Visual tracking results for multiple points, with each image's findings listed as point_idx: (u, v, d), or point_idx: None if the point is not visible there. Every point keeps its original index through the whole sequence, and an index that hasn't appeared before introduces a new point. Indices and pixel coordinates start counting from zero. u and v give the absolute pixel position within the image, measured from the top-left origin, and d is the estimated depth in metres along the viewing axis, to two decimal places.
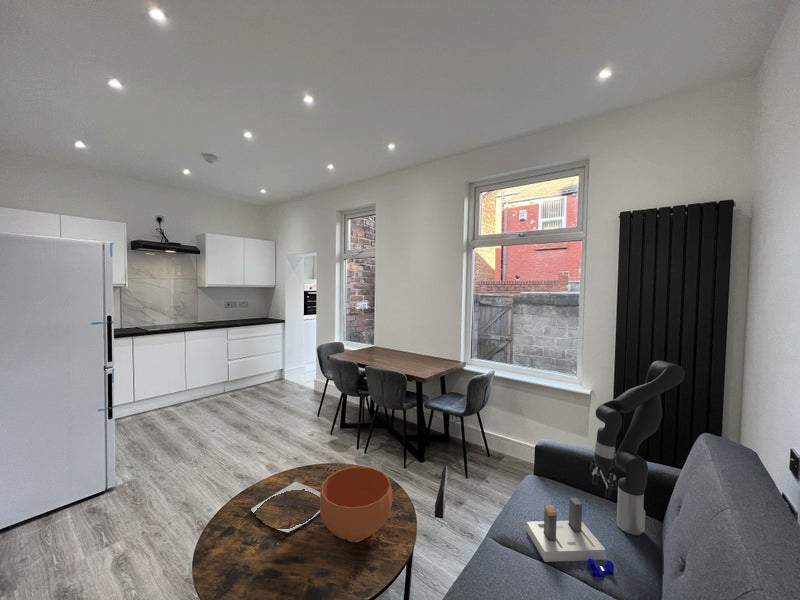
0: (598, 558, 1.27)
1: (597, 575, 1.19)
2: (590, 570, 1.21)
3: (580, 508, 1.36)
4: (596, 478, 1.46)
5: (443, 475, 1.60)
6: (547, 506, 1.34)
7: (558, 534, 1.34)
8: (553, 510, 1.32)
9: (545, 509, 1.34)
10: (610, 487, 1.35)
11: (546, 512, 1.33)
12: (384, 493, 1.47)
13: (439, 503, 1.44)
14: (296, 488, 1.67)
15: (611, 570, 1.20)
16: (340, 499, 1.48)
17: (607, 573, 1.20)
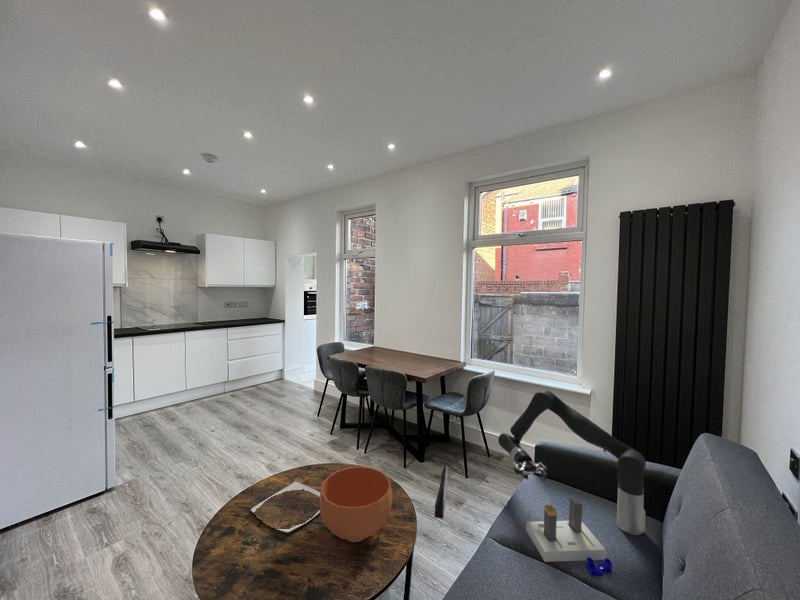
0: (598, 558, 1.27)
1: (596, 573, 1.20)
2: (589, 569, 1.21)
3: (580, 508, 1.36)
4: (542, 473, 1.48)
5: None
6: (547, 506, 1.34)
7: (558, 534, 1.34)
8: (553, 510, 1.32)
9: (545, 509, 1.34)
10: None
11: (546, 512, 1.33)
12: (384, 493, 1.47)
13: (439, 503, 1.44)
14: (296, 488, 1.67)
15: (609, 568, 1.21)
16: (340, 499, 1.48)
17: (605, 571, 1.21)
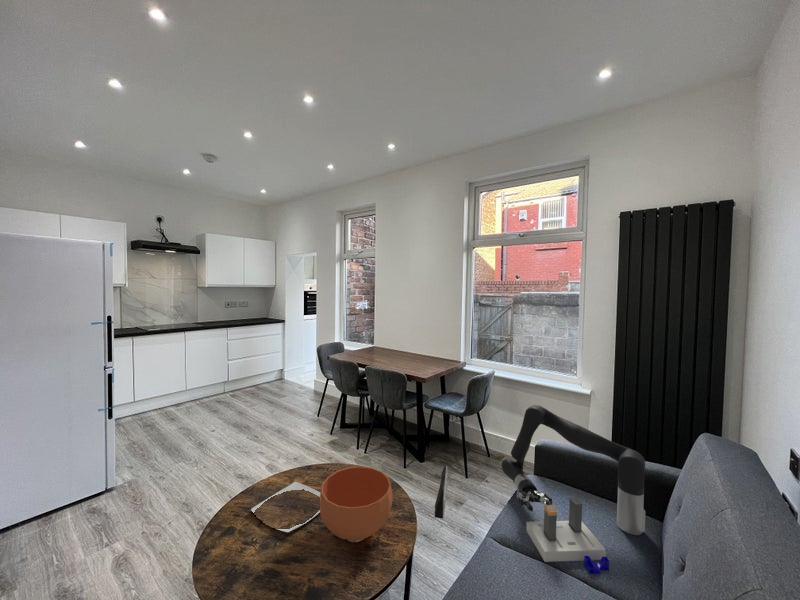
0: (598, 558, 1.27)
1: (594, 572, 1.20)
2: (587, 567, 1.22)
3: (580, 508, 1.36)
4: (547, 504, 1.44)
5: None
6: (547, 506, 1.34)
7: (558, 534, 1.34)
8: (553, 510, 1.32)
9: (545, 509, 1.34)
10: None
11: (546, 512, 1.33)
12: (384, 493, 1.47)
13: (439, 503, 1.44)
14: (296, 488, 1.67)
15: (607, 566, 1.22)
16: (340, 499, 1.48)
17: (603, 569, 1.22)
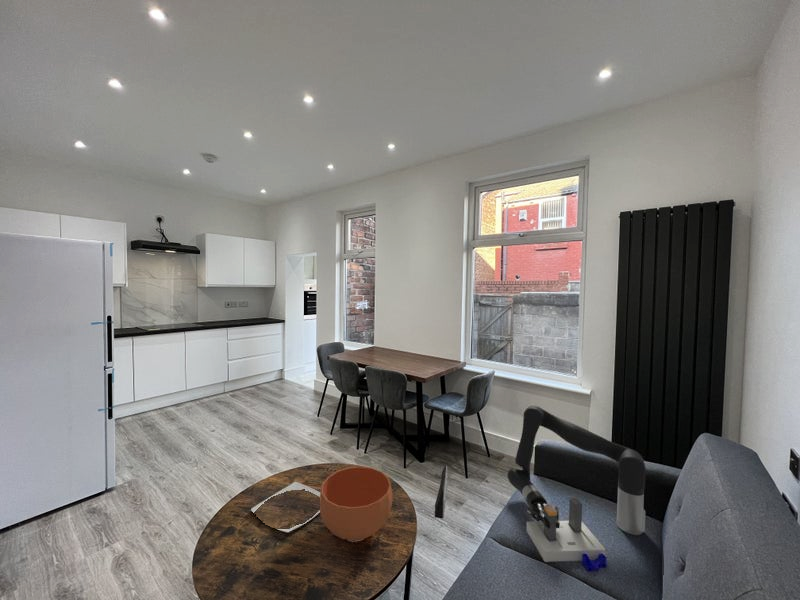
0: None
1: (592, 569, 1.21)
2: (585, 565, 1.23)
3: (580, 508, 1.36)
4: None
5: (443, 475, 1.60)
6: (547, 506, 1.34)
7: (558, 534, 1.34)
8: (553, 510, 1.32)
9: (545, 509, 1.34)
10: None
11: (546, 512, 1.33)
12: (384, 493, 1.47)
13: (439, 503, 1.44)
14: (296, 488, 1.67)
15: (604, 563, 1.23)
16: (340, 499, 1.48)
17: (600, 566, 1.23)
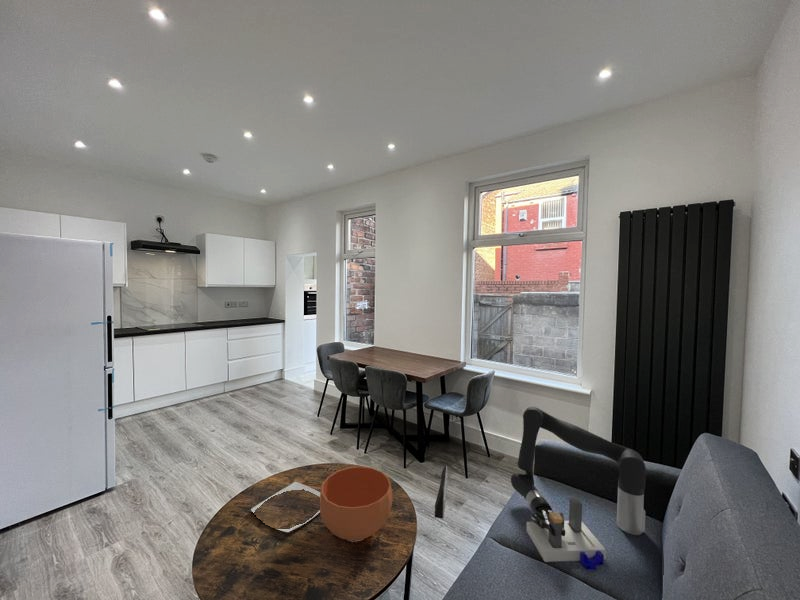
0: None
1: (590, 567, 1.22)
2: (583, 563, 1.23)
3: (580, 508, 1.36)
4: None
5: None
6: (552, 513, 1.30)
7: None
8: (558, 517, 1.28)
9: (550, 516, 1.30)
10: None
11: (551, 519, 1.29)
12: (384, 493, 1.47)
13: (439, 503, 1.44)
14: (296, 488, 1.67)
15: (601, 560, 1.24)
16: (340, 499, 1.48)
17: (598, 564, 1.24)
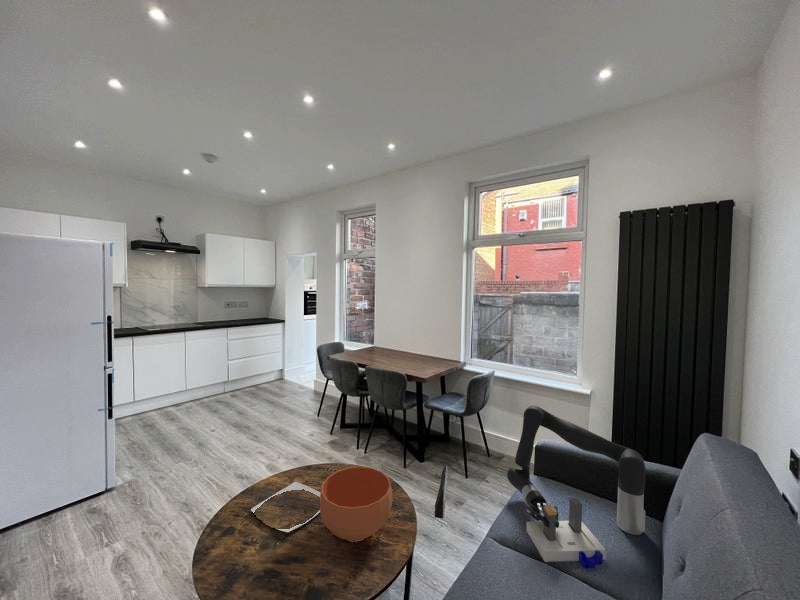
0: None
1: (589, 566, 1.23)
2: (582, 562, 1.24)
3: (580, 508, 1.36)
4: None
5: (443, 475, 1.60)
6: (547, 505, 1.35)
7: (558, 534, 1.34)
8: (553, 509, 1.32)
9: (545, 508, 1.34)
10: None
11: (546, 511, 1.34)
12: (384, 493, 1.47)
13: (439, 503, 1.44)
14: (296, 488, 1.67)
15: (600, 560, 1.24)
16: (340, 499, 1.48)
17: (597, 563, 1.24)
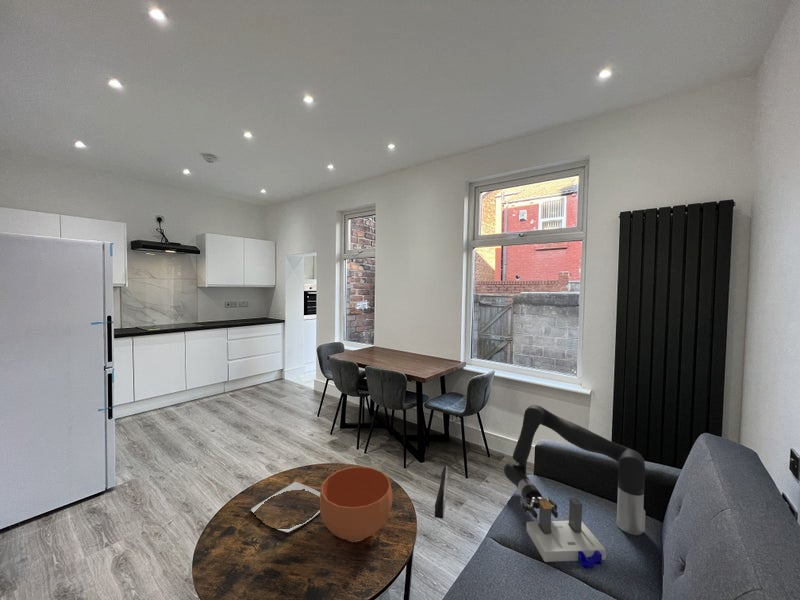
0: None
1: (588, 566, 1.23)
2: (581, 562, 1.24)
3: (580, 508, 1.36)
4: (552, 510, 1.39)
5: None
6: (542, 500, 1.38)
7: (558, 534, 1.34)
8: (548, 503, 1.36)
9: (540, 503, 1.38)
10: None
11: (541, 505, 1.37)
12: (384, 493, 1.47)
13: (439, 503, 1.44)
14: (296, 488, 1.67)
15: (599, 560, 1.24)
16: (340, 499, 1.48)
17: (596, 563, 1.24)
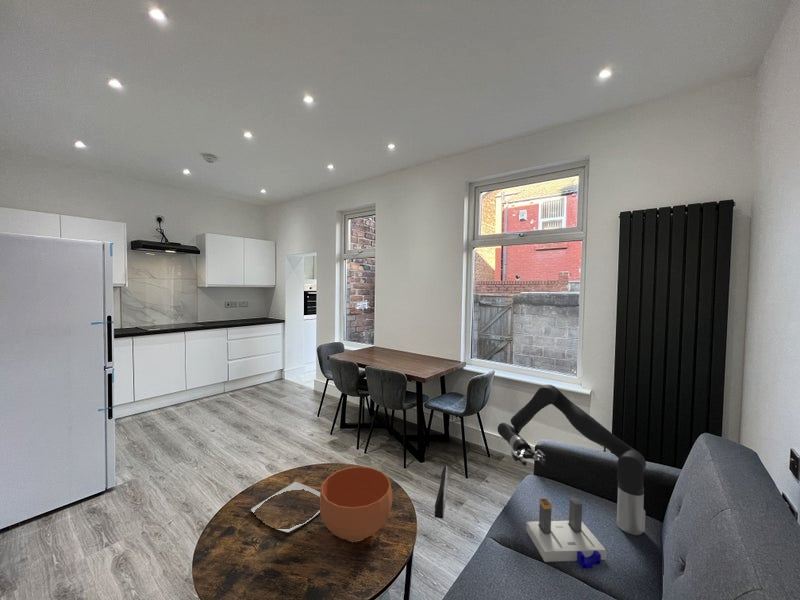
0: None
1: (587, 566, 1.23)
2: (580, 562, 1.24)
3: (580, 508, 1.36)
4: (540, 459, 1.50)
5: None
6: (542, 500, 1.38)
7: (558, 534, 1.34)
8: (548, 503, 1.36)
9: (540, 503, 1.38)
10: None
11: (541, 505, 1.37)
12: (384, 493, 1.47)
13: (439, 503, 1.44)
14: (296, 488, 1.67)
15: (598, 560, 1.24)
16: (340, 499, 1.48)
17: (595, 563, 1.24)
